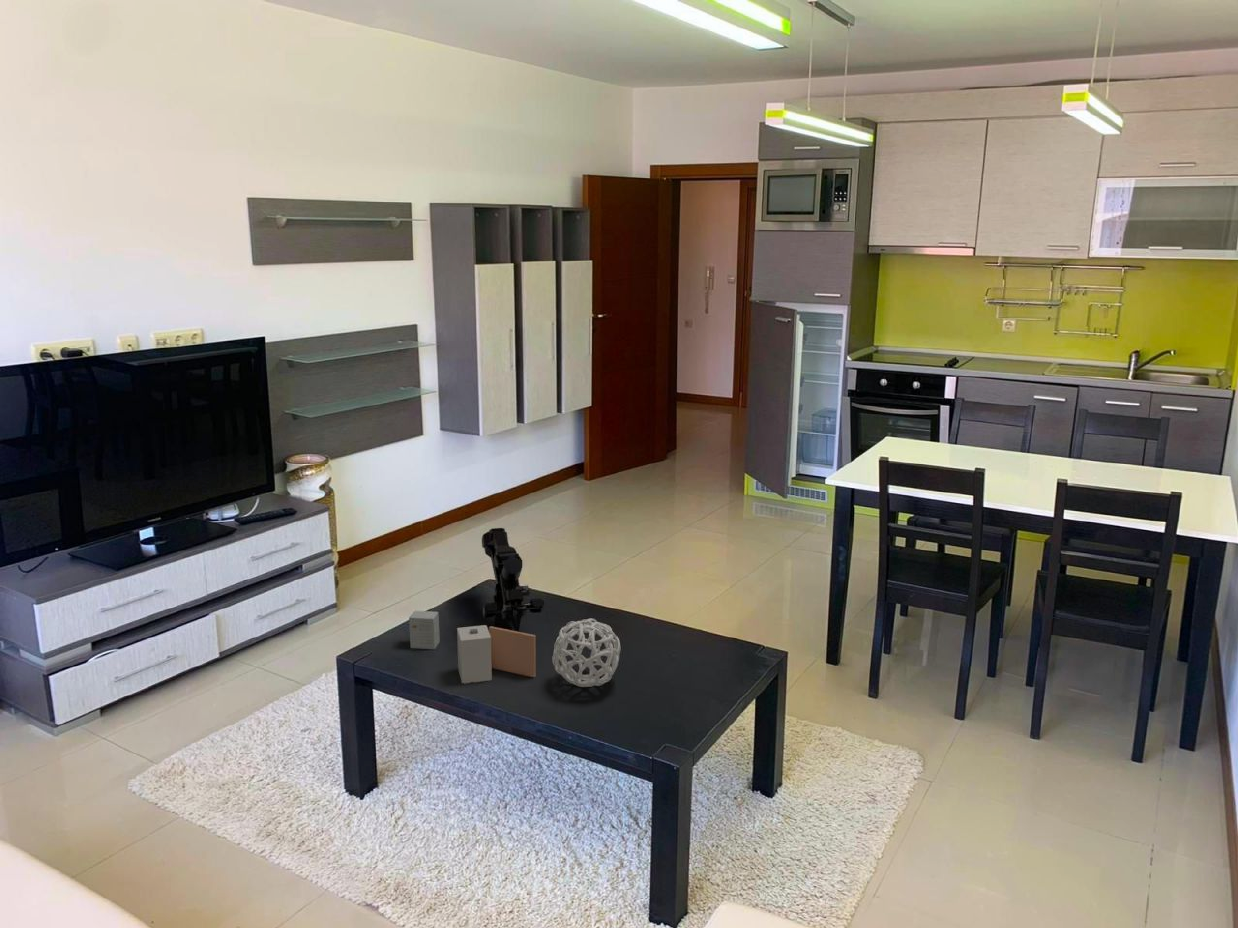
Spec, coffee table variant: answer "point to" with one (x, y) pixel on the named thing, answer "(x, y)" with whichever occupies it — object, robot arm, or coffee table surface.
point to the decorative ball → (610, 652)
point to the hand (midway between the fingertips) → (517, 633)
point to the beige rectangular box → (474, 654)
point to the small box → (424, 629)
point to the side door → (513, 651)
